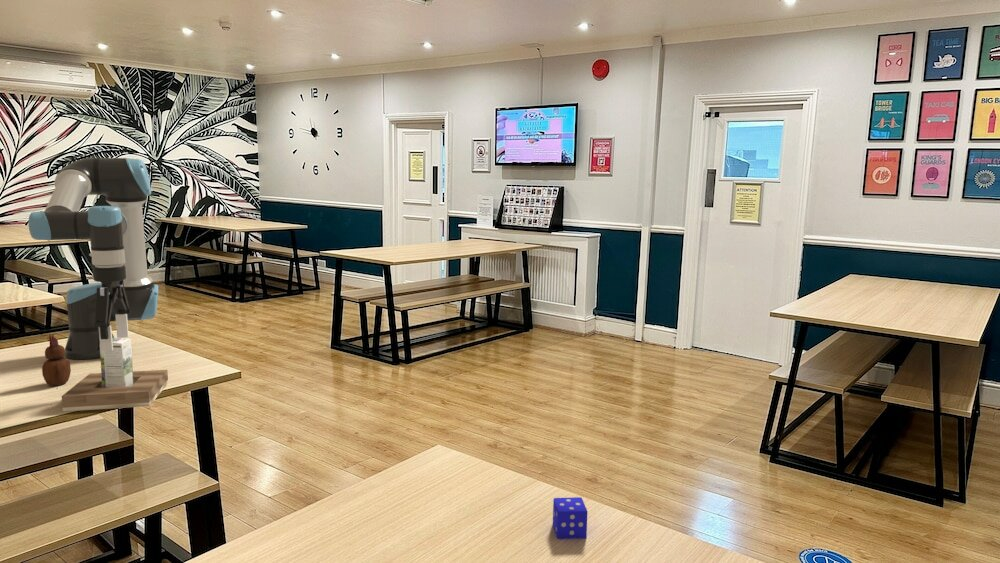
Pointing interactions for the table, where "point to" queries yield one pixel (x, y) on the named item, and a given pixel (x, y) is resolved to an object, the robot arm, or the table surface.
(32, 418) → the table surface
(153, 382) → the socket block
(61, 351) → the wooden figurine
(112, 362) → the syrup box
